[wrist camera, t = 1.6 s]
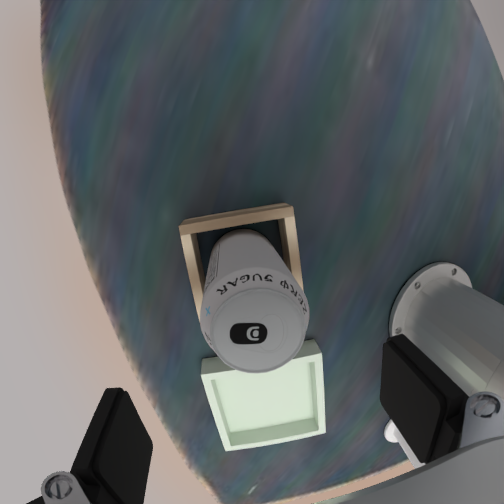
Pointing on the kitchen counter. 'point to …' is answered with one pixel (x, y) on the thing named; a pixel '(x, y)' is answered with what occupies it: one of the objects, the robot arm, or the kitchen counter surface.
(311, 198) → the kitchen counter surface
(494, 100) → the kitchen counter surface
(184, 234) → the wooden square frame
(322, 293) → the kitchen counter surface
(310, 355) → the tray
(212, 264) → the energy drink can
